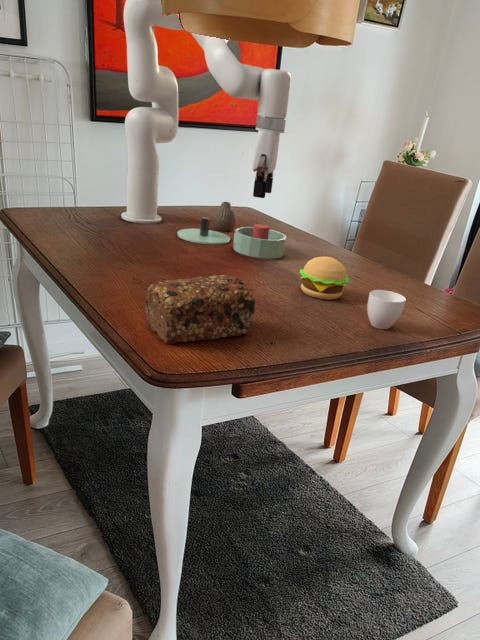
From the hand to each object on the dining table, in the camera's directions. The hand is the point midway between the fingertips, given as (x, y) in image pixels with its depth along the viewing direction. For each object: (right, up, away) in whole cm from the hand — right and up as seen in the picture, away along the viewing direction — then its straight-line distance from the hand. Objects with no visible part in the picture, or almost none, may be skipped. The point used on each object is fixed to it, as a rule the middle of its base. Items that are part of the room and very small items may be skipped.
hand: (262, 194), depth 159 cm
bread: (-14, -45, -47) cm, 67 cm away
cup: (+24, -41, -31) cm, 57 cm away
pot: (-1, -13, +8) cm, 16 cm away
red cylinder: (-1, -13, +8) cm, 15 cm away
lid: (-17, -7, +14) cm, 23 cm away
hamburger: (+14, -31, -17) cm, 38 cm away
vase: (-11, -1, +26) cm, 28 cm away
